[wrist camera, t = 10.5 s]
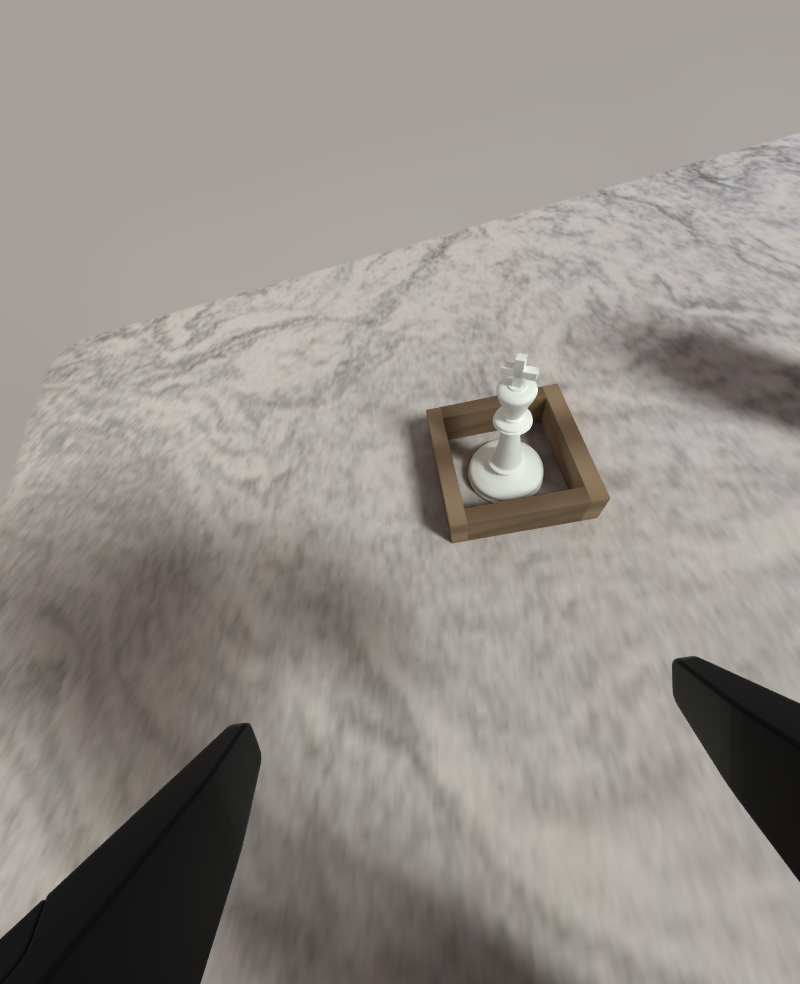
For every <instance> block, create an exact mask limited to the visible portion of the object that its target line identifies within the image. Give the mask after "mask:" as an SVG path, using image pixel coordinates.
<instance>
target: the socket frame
mask: <svg viewBox="0 0 800 984" xmlns="http://www.w3.org/2000/svg"><path fill="white" fill-rule="evenodd" d="M500 407H502V406H501V403H500V402H499V400H498V397H497V396H494V397H489V398H484V399H479V400H474V401H469V402H464V403H459V404H454V405H449V406H444V407H439V408H434V409H429V410H426V413H427V420H428V427H429V433H430V438H431V443H432V448H433V453H434V458H435V462H436V467H437V472H438V477H439V482H440V487H441V492H442V497H443V501H444V506H445V511H446V516H447V521H448V526H449V531H450V535H451V540H452V543H456V542H462V541H468V540H473V539H479V538H485V537H491V536H496V535H502V534H508V533H513V532H519V531H525V530H531V529H536V528H542V527H548V526H553V525H559V524H565V523H571V522H576V521H582V520H588V519H593V518H598V516H599V515H600V513H601V512H602V510H603V509H604V507H605V506H606V504H607V503H608V501H609V499H610V497H609V495H608V493H607V491H606V488H605V486H604V484H603V482H602V480H601V478H600V475H599V473H598V471H597V469H596V467H595V464H594V462H593V460H592V458H591V456H590V454H589V451H588V449H587V447H586V445H585V443H584V441H583V438H582V436H581V434H580V432H579V430H578V428H577V425H576V423H575V421H574V419H573V417H572V415H571V412H570V410H569V408H568V406H567V404H566V402H565V399H564V397H563V395H562V393H561V391H560V389H559V386H558V384H553V385H548V386H543V387H538V393H537V396H536V398H535V399H534V401H533V402H532V403H531V404H530V405H529V407H528V410H529V411H530V412H531V415H532V418H533V423H537V422H541V423H542V425H543V428H544V430H545V433H546V435H547V438H548V440H549V443H550V445H551V448H552V450H553V453H554V455H555V458H556V460H557V463H558V465H559V467H560V470H561V472H562V475H563V477H564V480H565V482H566V485H567V487H568V490H564V491H558V492H553V493H547V494H542V495H536V496H531V497H525V498H520V499H514V500H509V501H503V502H498V503H492V504H487V505H481V506H476V507H470V508H464V506H463V502H462V498H461V493H460V489H459V485H458V481H457V476H456V472H455V468H454V464H453V459H452V455H451V451H450V446H449V442H448V440H450V439H455V438H460V437H465V436H470V435H476V434H481V433H486V432H491V431H496V430H497V429H496V428H495V427H494V425H493V417H494V414H495V413H496V411H497V410H498V409H499V408H500Z"/></svg>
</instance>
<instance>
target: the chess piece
mask: <svg viewBox="0 0 800 984" xmlns="http://www.w3.org/2000/svg"><path fill="white" fill-rule="evenodd" d="M527 356H528V355H525V354H519V353H518V355H517V357H516V359H515V363H510V362H505V361H504V362H503V364H502V366H501V373H500V374H501V375H506V376H507V377H505V378H503V379H502V380H501V381H500V382H499V383H498V385H497V389H496V393H497V397H498V400H499V402H500V403H501V406H502V407H500V408H499V409H498V410H497V411H496V413H495V414H494V417H493V425H494V427H495V428H496V429H497V430H498V431H499V432H500V433H501V435H500V438H499V440H494V441H491V442H488V443H486V444H484V445H483V446H481V447H480V448H479V449H478V450H477V451H476V452H475V453H474V455H473V456H472V458H471V461H470V465H469V469H468V477H469V481H470V484H471V486H472V488H473V489H474V491H475V492H476V493H477V494H478V495H479V496H481V497H482V498H483V499H485V500H487V501H489V502H492V503H498V502H503V501H509V500H514V499H520V498H525V497H531V496H534V495H535V494H536V493H537V492H538V490H539V489H540V487H541V485H542V482H543V471H544V470H543V463H542V461H541V458H540V457H539V455H538V454H537V452H536V451H535V450H534V449H533V448H531V447H530V446H528V445H527V444H525V443H523V442H520V435H521V434H524V433H525V432H527V431H528V430H529V429H530V428H531V426H532V423H533V418H532V415H531V412H530V411H529V410H528V407H529V405H530V404H531V403H532V402H533V401H534V399H535V398H536V396H537V393H538V387H537V384H536V382H535V381H536V379H537V376H538V373H539V368H536V367H531V366H526V362H527Z"/></svg>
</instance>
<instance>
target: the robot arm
mask: <svg viewBox="0 0 800 984" xmlns="http://www.w3.org/2000/svg"><path fill="white" fill-rule="evenodd" d="M672 687H673V695H674V699H675V701H676V703H677V705H678V707H679V708H680V710H681V712H682V713H683V715H684V716H685V718H686V720H687V721H688V723H689V724H690V726H691V728H692V729H693V731H694V732H695V734H696V736H697V737H698V739H699V740H700V742H701V744H702V745H703V747H704V748H705V750H706V752H707V753H708V755H709V756H710V758H711V760H712V761H713V763H714V764H715V766H716V768H717V769H718V771H719V772H720V774H721V775H722V777H723V779H724V780H725V782H726V783H727V785H728V786H729V788H730V789H731V790H732V792H733V793H734V795H735V796H736V797H737V799H738V800H739V802H740V803H741V804H742V806H743V807H744V808H745V810H746V811H747V812H748V814H749V815H750V816H751V818H752V819H753V820H754V822H755V823H756V824H757V826H758V827H759V828H760V830H761V831H762V832H763V834H764V835H765V836H766V838H767V839H768V840H769V842H770V843H771V844H772V846H773V847H774V848H775V850H776V851H777V852H778V854H779V855H780V856H781V858H782V859H783V860H784V862H785V863H786V864H787V866H788V867H789V868H790V870H791V871H792V872H793V874H794V875H795V876H796V878H797V879H798V880H799V882H800V703H798V702H796V701H793V700H791V699H789V698H787V697H785V696H782V695H780V694H778V693H776V692H774V691H771V690H769V689H767V688H765V687H763V686H761V685H758V684H756V683H754V682H752V681H750V680H747V679H745V678H743V677H741V676H739V675H736V674H734V673H732V672H730V671H728V670H725V669H723V668H721V667H719V666H717V665H714V664H712V663H710V662H708V661H706V660H703V659H701V658H699V657H696V656H689V657H683V658H677V659H675V660H673V662H672ZM260 765H261V751H260V748H259V745H258V742H257V740H256V737H255V734H254V732H253V729H252V727H251V725H250V724H249V723H240V724H233V725H230V726H229V727H227V728H226V729H225V730H224V731H223V732H222V733H221V734H220V735H219V736H218V737H217V738H215V739H214V740H213V741H212V742H211V743H210V744H209V745H208V746H207V747H206V748H205V749H204V750H203V751H202V752H200V753H199V754H198V755H197V756H196V757H195V758H194V759H193V760H192V761H191V762H190V763H189V764H188V765H187V766H185V767H184V768H183V769H182V770H181V771H180V772H179V773H178V774H177V775H176V776H175V777H174V778H173V779H172V780H170V781H169V782H168V783H167V784H166V785H165V786H164V787H163V788H162V789H161V790H160V791H159V792H158V793H157V794H155V795H154V796H153V797H152V798H151V799H150V800H149V801H148V802H147V803H146V804H145V805H144V806H143V807H142V808H140V809H139V810H138V811H137V812H136V813H135V814H134V815H133V816H132V817H131V818H130V819H129V820H128V821H127V822H125V823H124V824H123V825H122V826H121V827H120V828H119V829H118V830H117V831H116V832H115V833H114V834H113V835H112V836H110V837H109V838H108V839H107V840H106V841H105V842H104V843H103V844H102V845H101V846H100V847H99V848H98V849H97V850H95V851H94V852H93V853H92V854H91V855H90V856H89V857H88V858H87V859H86V860H85V861H84V862H83V863H82V864H80V865H79V866H78V867H77V868H76V869H75V870H74V871H73V872H72V873H71V874H70V875H69V876H68V877H67V878H65V879H64V880H63V881H62V882H61V883H60V884H59V885H58V886H57V887H56V888H55V889H54V890H53V891H52V892H50V893H49V894H48V896H47V898H46V900H42V901H41V902H40V903H39V904H37V905H36V906H35V907H34V908H33V909H32V910H31V911H30V912H29V913H28V914H27V915H26V916H25V917H24V918H23V919H21V920H20V921H19V922H18V923H17V924H16V925H15V926H14V927H13V928H12V929H11V930H10V931H8V932H7V933H6V934H5V935H4V936H3V937H2V938H1V939H0V984H200V983H201V980H202V977H203V973H204V970H205V967H206V964H207V960H208V957H209V954H210V951H211V947H212V944H213V941H214V938H215V934H216V931H217V928H218V925H219V922H220V918H221V915H222V912H223V909H224V905H225V902H226V899H227V896H228V892H229V889H230V886H231V883H232V879H233V876H234V873H235V870H236V866H237V863H238V860H239V856H240V853H241V849H242V845H243V841H244V837H245V833H246V829H247V824H248V819H249V815H250V810H251V806H252V801H253V797H254V792H255V788H256V783H257V778H258V774H259V769H260Z"/></svg>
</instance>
